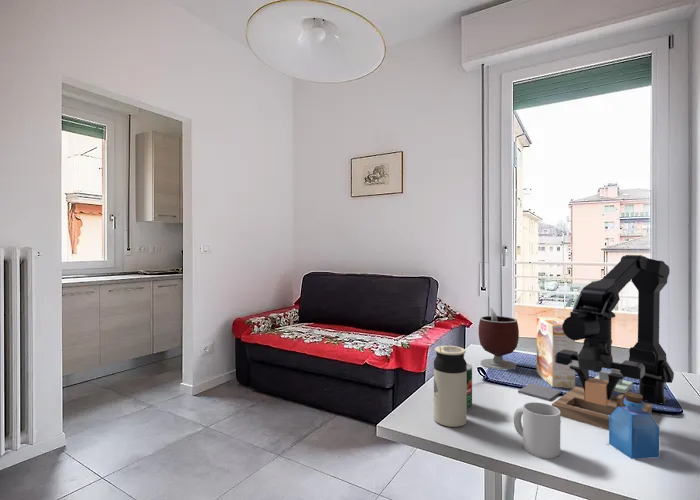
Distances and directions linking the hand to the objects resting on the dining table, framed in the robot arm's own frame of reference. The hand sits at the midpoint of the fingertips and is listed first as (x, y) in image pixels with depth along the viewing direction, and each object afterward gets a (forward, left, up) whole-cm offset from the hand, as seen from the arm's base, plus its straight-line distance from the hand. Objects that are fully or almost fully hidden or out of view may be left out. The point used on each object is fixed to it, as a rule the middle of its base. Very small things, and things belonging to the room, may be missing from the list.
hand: (597, 396), depth 101 cm
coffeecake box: (-22, -18, -6) cm, 29 cm away
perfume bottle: (+13, +10, -6) cm, 17 cm away
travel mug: (+29, -25, -6) cm, 39 cm away
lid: (-12, 0, 0) cm, 12 cm away
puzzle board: (-4, 0, -5) cm, 6 cm away
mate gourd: (-25, -39, -6) cm, 47 cm away
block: (0, 0, -1) cm, 1 cm away
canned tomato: (+19, -29, -6) cm, 35 cm away
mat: (-7, -17, -5) cm, 19 cm away
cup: (+27, -5, -6) cm, 28 cm away
